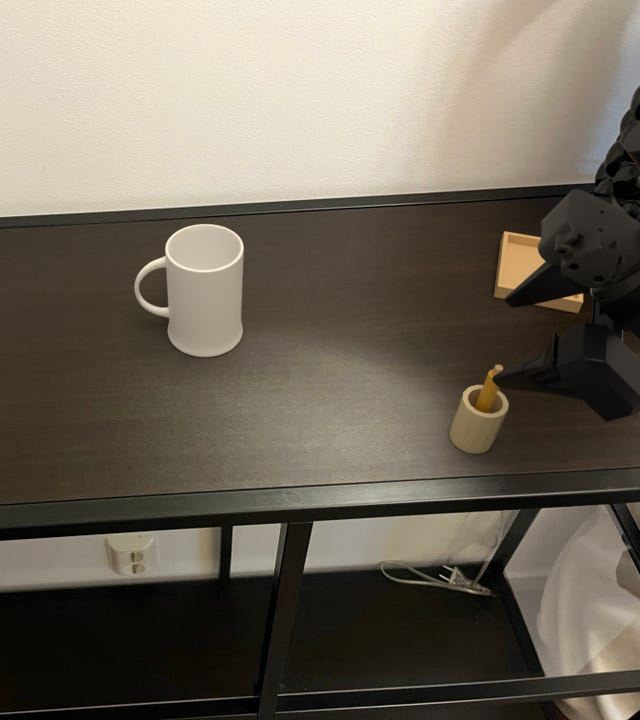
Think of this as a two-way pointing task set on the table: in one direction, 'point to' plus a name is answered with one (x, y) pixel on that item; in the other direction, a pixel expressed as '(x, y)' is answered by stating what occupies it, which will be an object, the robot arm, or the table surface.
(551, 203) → the table surface
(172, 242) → the mug
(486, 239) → the table surface
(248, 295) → the table surface
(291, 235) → the table surface
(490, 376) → the pencil
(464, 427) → the pencil cup
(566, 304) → the tray
